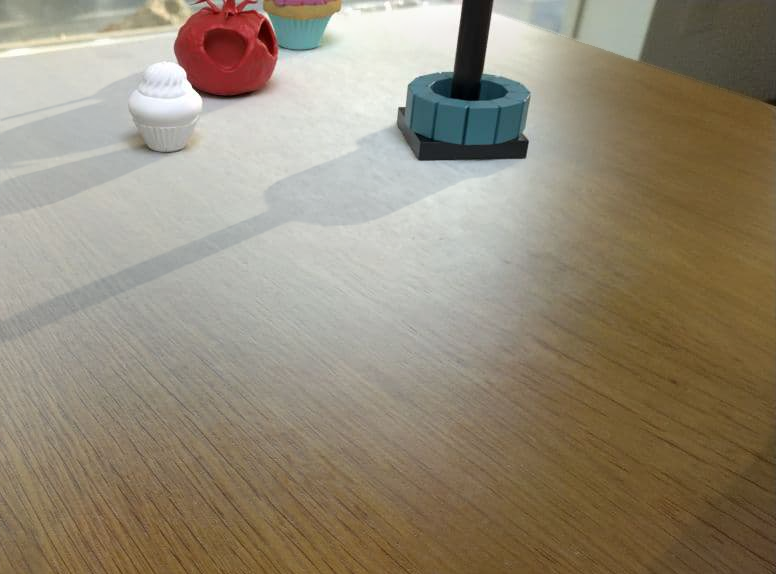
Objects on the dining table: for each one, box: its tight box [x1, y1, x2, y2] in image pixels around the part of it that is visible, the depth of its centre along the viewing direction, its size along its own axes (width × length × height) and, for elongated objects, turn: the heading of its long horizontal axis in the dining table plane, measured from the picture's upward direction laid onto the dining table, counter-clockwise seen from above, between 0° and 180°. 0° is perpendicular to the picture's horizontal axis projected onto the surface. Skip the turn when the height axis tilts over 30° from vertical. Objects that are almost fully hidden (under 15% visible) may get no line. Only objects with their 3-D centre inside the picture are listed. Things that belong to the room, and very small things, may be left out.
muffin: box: [127, 60, 203, 153], centre depth 81 cm, size 6×6×7 cm
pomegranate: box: [173, 0, 279, 96], centre depth 93 cm, size 10×10×9 cm
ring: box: [404, 71, 532, 145], centre depth 82 cm, size 10×10×3 cm
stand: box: [396, 0, 530, 161], centre depth 80 cm, size 9×9×14 cm
